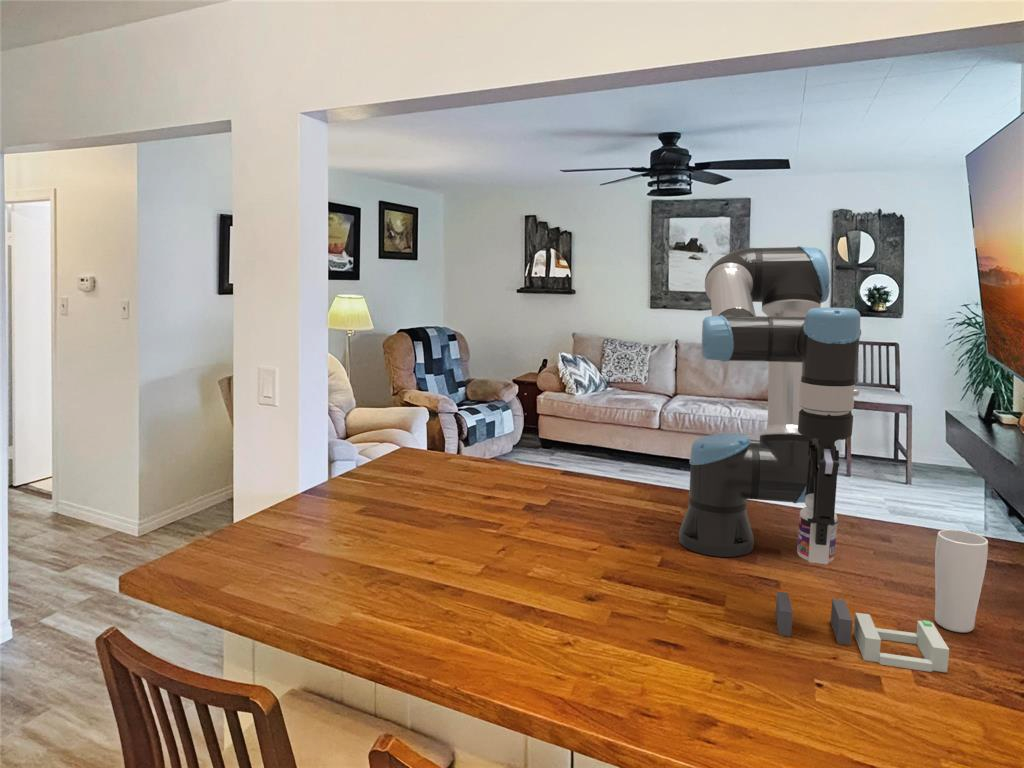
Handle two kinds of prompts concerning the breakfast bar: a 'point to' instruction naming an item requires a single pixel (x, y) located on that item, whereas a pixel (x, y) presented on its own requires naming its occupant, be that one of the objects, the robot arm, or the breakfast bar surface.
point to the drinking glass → (958, 578)
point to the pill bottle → (805, 530)
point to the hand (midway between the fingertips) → (815, 554)
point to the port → (924, 638)
